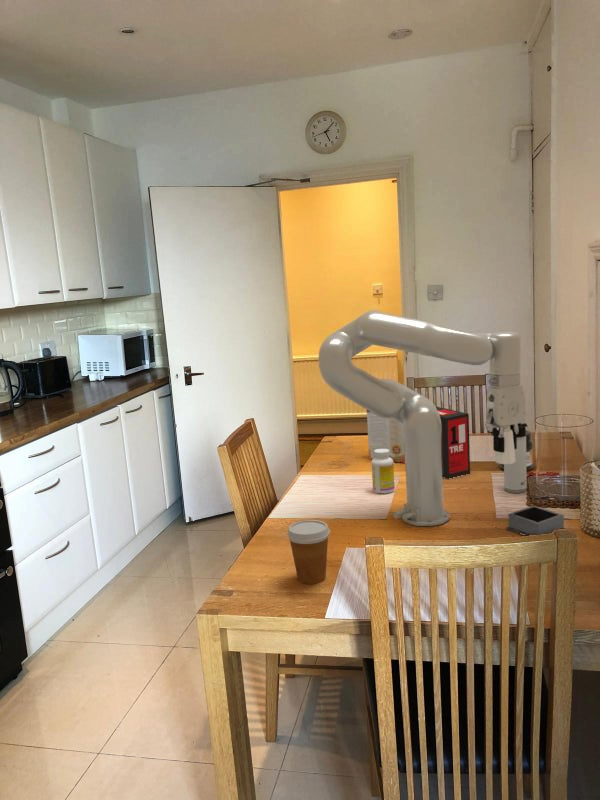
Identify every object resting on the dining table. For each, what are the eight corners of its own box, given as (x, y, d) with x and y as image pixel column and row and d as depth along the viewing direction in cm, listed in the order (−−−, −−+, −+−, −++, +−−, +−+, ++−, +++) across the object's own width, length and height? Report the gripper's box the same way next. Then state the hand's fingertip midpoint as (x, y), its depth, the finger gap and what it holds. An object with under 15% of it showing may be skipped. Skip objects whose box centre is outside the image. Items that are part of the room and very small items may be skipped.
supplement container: (532, 473, 211) (532, 436, 209) (497, 472, 215) (497, 436, 213) (534, 464, 220) (533, 429, 218) (501, 463, 224) (500, 428, 222)
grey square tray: (538, 541, 159) (538, 524, 159) (506, 529, 168) (506, 513, 167) (566, 530, 164) (566, 515, 164) (533, 519, 173) (533, 504, 172)
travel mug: (529, 493, 193) (528, 426, 189) (505, 493, 194) (504, 426, 191) (526, 486, 199) (525, 421, 195) (503, 486, 200) (502, 422, 197)
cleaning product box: (417, 467, 226) (414, 410, 222) (438, 463, 229) (436, 406, 226) (448, 479, 211) (446, 418, 207) (470, 474, 215) (468, 413, 211)
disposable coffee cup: (284, 585, 146) (280, 533, 144) (299, 566, 155) (295, 517, 153) (325, 589, 143) (321, 536, 140) (338, 570, 151) (335, 520, 149)
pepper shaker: (501, 465, 171) (501, 423, 169) (490, 460, 176) (490, 419, 174) (520, 462, 172) (520, 421, 170) (508, 457, 177) (508, 417, 175)
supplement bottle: (399, 489, 204) (397, 449, 202) (386, 495, 200) (384, 454, 197) (381, 486, 209) (379, 446, 207) (368, 492, 204) (366, 451, 202)
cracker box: (411, 459, 237) (409, 401, 233) (404, 463, 232) (402, 404, 228) (376, 455, 244) (373, 400, 240) (368, 460, 239) (365, 403, 235)
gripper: (492, 386, 163) (493, 458, 166) (539, 377, 171) (538, 446, 174) (470, 383, 169) (471, 452, 172) (516, 375, 177) (516, 441, 181)
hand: (505, 449), depth 173 cm, fingers closed on pepper shaker, 3 cm apart
